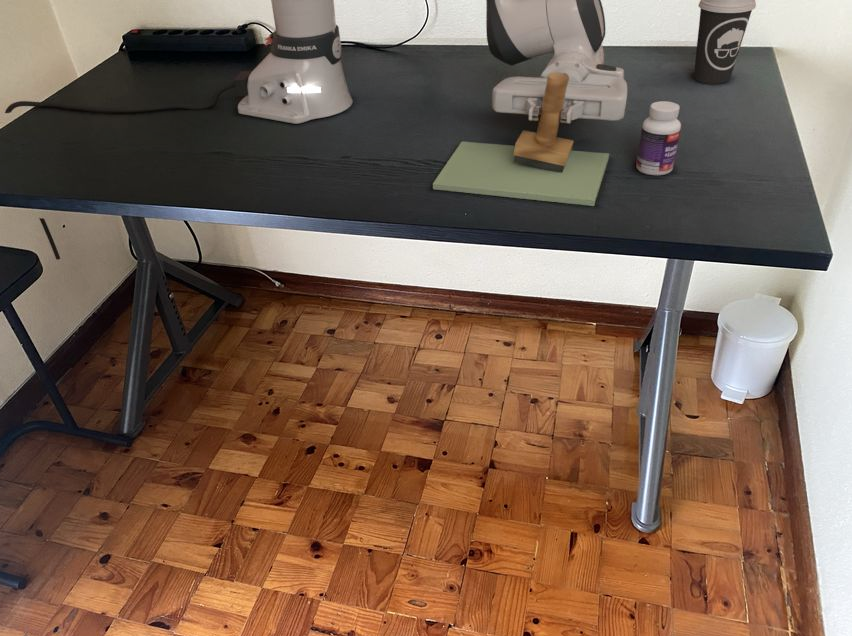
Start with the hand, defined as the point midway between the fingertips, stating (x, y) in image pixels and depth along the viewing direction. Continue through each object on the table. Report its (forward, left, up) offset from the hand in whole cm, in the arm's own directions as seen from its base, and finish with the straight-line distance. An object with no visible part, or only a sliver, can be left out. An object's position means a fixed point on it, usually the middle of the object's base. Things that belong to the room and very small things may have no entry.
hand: (549, 117), depth 107 cm
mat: (-3, -1, -9) cm, 10 cm away
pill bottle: (+16, +5, -9) cm, 19 cm away
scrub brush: (-1, +1, -8) cm, 8 cm away
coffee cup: (+23, +47, -9) cm, 53 cm away
